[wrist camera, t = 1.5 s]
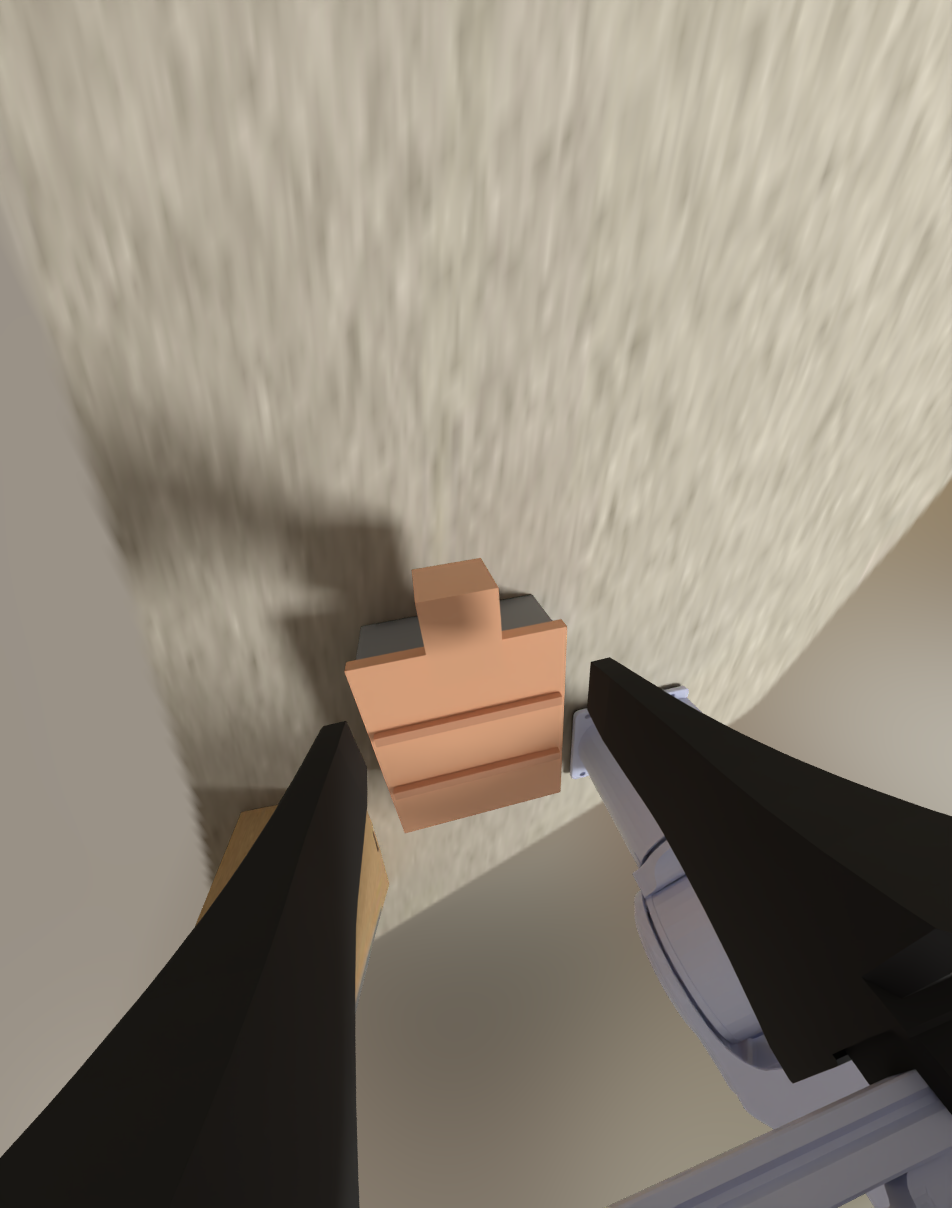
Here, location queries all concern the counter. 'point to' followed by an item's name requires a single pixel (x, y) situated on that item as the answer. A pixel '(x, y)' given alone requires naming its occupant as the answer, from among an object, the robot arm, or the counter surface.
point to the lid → (465, 703)
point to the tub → (409, 634)
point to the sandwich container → (369, 888)
